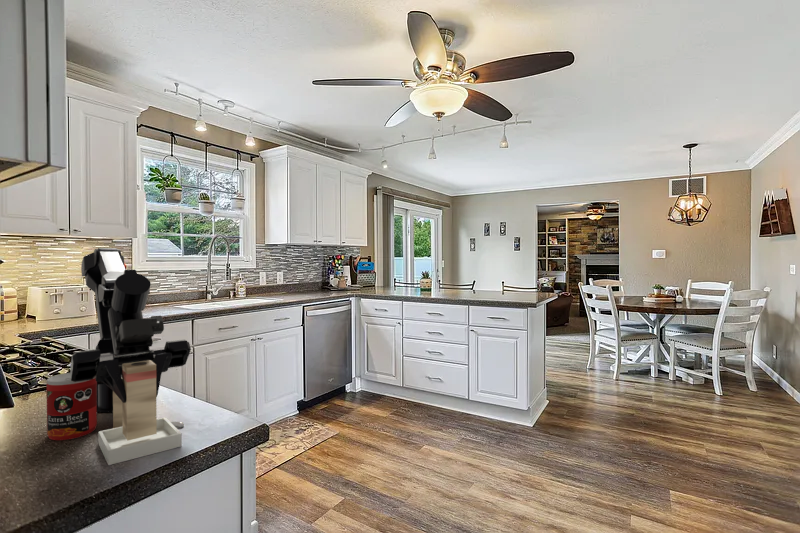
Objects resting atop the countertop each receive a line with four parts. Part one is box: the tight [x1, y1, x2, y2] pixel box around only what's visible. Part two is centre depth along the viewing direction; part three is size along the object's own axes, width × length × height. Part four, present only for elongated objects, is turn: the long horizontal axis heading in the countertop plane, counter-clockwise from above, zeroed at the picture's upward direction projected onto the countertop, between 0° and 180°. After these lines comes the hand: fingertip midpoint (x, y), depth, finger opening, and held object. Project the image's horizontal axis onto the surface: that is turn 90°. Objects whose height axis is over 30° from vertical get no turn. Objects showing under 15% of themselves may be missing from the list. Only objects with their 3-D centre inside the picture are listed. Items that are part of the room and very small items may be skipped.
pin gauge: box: [169, 420, 185, 429], centre depth 88 cm, size 9×1×1 cm, turn 84°
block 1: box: [112, 391, 123, 429], centre depth 90 cm, size 4×4×9 cm
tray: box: [97, 417, 183, 466], centre depth 79 cm, size 11×11×2 cm
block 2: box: [122, 360, 158, 441], centre depth 79 cm, size 4×4×13 cm
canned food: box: [46, 372, 98, 441], centre depth 85 cm, size 8×8×11 cm
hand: (140, 398), depth 78 cm, fingers closed on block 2, 4 cm apart
